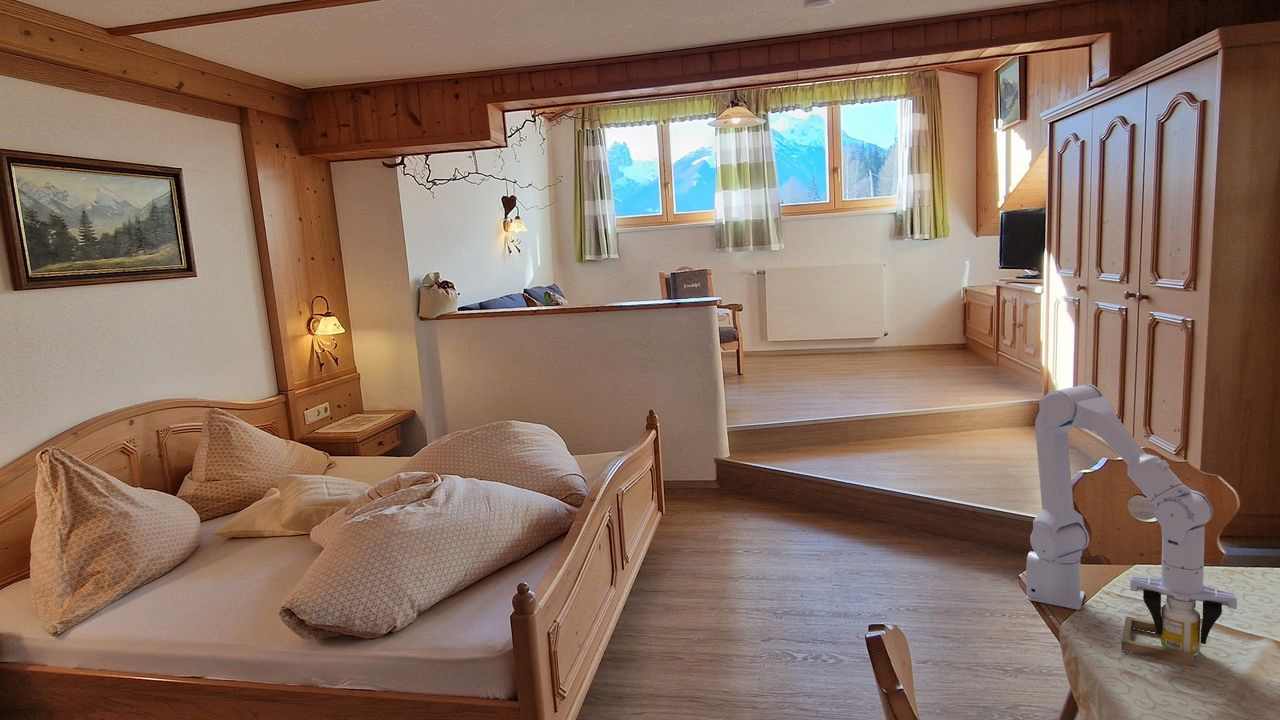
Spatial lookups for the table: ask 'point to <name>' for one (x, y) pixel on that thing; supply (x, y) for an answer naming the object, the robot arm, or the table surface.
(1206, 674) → the table surface
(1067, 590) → the robot arm
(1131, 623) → the wooden frame
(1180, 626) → the supplement bottle
